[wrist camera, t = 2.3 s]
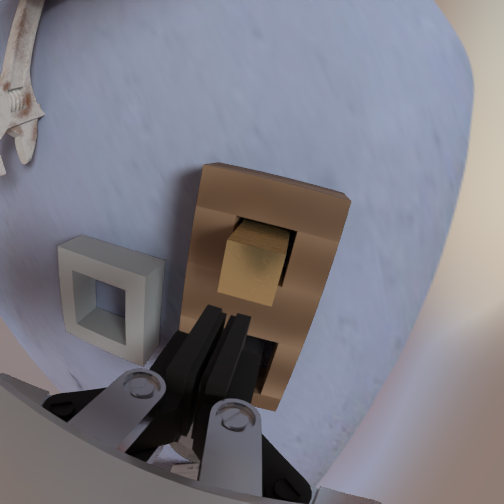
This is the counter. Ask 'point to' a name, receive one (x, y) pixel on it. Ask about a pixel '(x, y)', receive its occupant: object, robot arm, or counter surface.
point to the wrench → (20, 83)
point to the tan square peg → (254, 261)
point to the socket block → (292, 276)
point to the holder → (119, 275)
